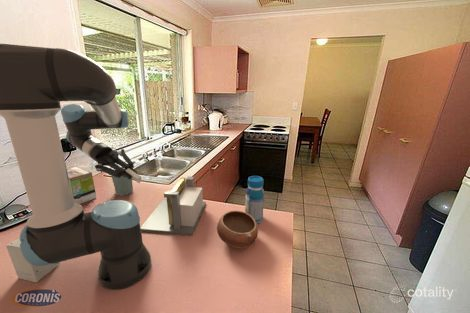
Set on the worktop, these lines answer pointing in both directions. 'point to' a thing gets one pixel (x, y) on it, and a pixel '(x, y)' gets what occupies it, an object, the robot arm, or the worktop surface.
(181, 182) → the tan rectangular upright panel
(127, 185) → the drinking glass
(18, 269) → the supplement box
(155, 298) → the worktop surface
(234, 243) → the bowl
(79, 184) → the tea box
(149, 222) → the base
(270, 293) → the worktop surface
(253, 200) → the beverage bottle
